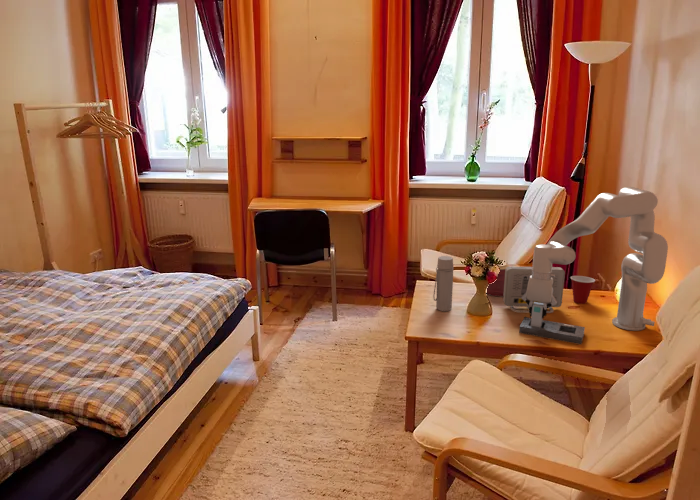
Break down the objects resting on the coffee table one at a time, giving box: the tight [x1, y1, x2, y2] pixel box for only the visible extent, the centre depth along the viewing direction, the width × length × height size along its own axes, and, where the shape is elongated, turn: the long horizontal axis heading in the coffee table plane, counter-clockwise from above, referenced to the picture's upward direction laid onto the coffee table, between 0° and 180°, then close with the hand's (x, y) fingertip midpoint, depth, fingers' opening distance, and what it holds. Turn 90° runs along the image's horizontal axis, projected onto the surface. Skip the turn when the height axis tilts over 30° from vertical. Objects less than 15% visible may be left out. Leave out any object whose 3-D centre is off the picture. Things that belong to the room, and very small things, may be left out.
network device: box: [502, 266, 566, 314], centre depth 236 cm, size 26×9×20 cm, turn 84°
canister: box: [486, 258, 510, 297], centre depth 258 cm, size 13×13×18 cm
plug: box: [530, 302, 544, 328], centre depth 214 cm, size 4×5×10 cm
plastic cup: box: [570, 275, 596, 305], centre depth 245 cm, size 11×11×12 cm
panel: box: [518, 316, 585, 345], centre depth 213 cm, size 24×11×3 cm, turn 61°
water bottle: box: [432, 255, 454, 312], centre depth 236 cm, size 9×8×25 cm
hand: (537, 315), depth 214 cm, fingers closed on plug, 4 cm apart
